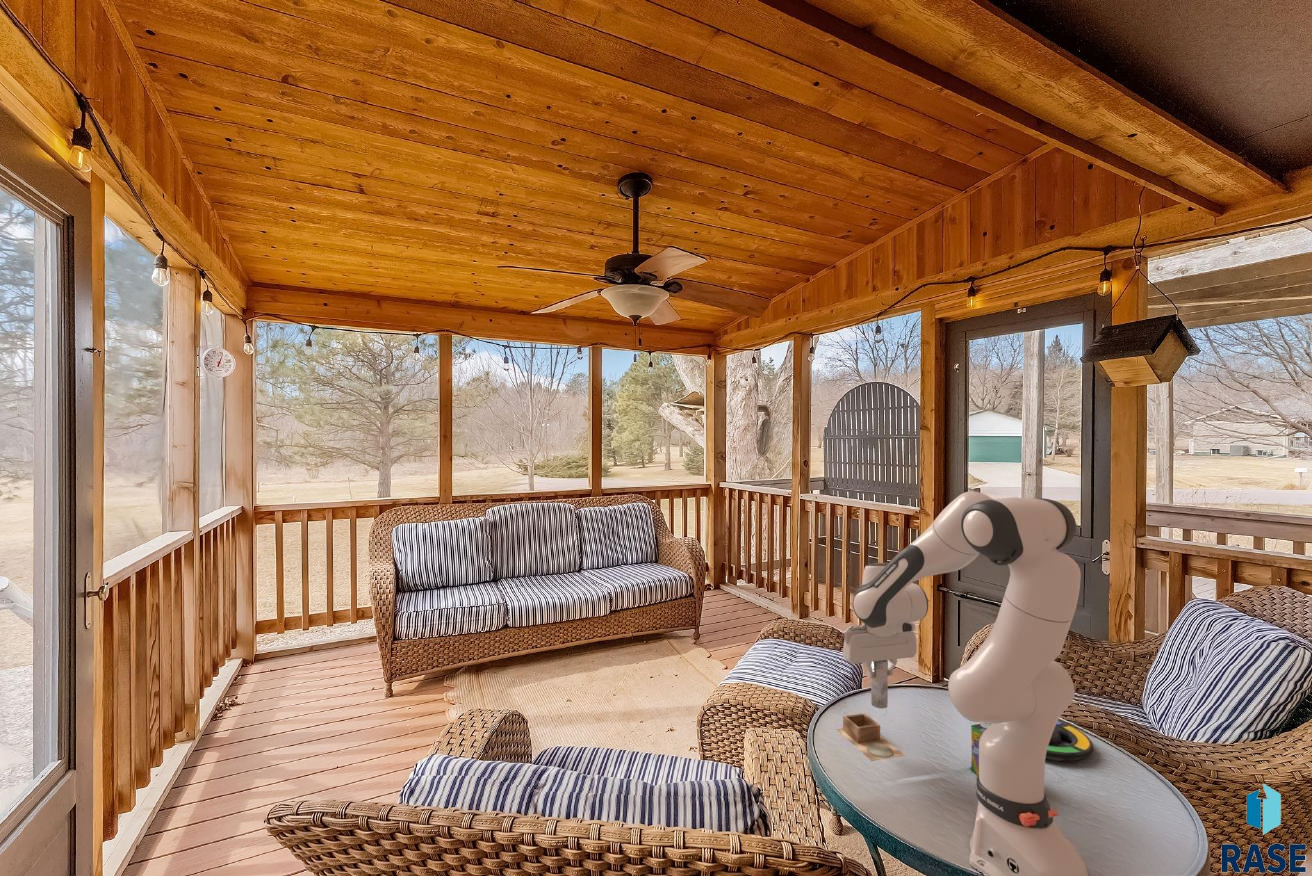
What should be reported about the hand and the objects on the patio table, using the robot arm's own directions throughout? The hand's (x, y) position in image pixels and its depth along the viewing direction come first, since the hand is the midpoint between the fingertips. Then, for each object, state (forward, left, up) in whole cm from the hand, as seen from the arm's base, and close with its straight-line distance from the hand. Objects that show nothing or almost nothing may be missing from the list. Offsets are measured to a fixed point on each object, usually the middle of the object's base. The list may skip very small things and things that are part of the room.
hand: (879, 675), depth 149 cm
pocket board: (+4, 0, -21) cm, 21 cm away
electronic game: (-6, -47, -21) cm, 52 cm away
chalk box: (-17, -22, -21) cm, 35 cm away
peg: (0, 0, -8) cm, 8 cm away
